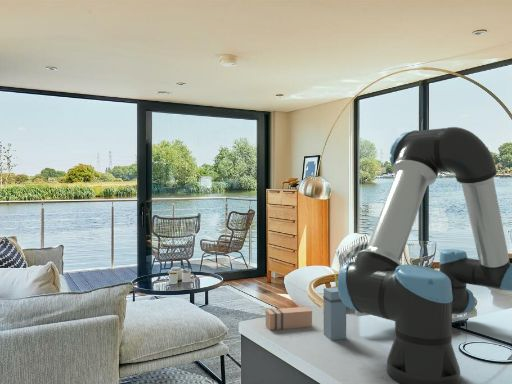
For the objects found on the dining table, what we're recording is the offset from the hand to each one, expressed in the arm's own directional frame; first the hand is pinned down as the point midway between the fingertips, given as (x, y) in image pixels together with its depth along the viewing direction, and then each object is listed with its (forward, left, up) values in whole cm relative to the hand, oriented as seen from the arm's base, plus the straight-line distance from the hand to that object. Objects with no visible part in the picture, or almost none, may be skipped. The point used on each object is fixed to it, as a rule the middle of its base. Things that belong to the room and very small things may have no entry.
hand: (356, 310), depth 123 cm
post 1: (+3, +14, -4) cm, 15 cm away
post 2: (-5, +5, -6) cm, 10 cm away
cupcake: (+25, +8, -7) cm, 27 cm away
